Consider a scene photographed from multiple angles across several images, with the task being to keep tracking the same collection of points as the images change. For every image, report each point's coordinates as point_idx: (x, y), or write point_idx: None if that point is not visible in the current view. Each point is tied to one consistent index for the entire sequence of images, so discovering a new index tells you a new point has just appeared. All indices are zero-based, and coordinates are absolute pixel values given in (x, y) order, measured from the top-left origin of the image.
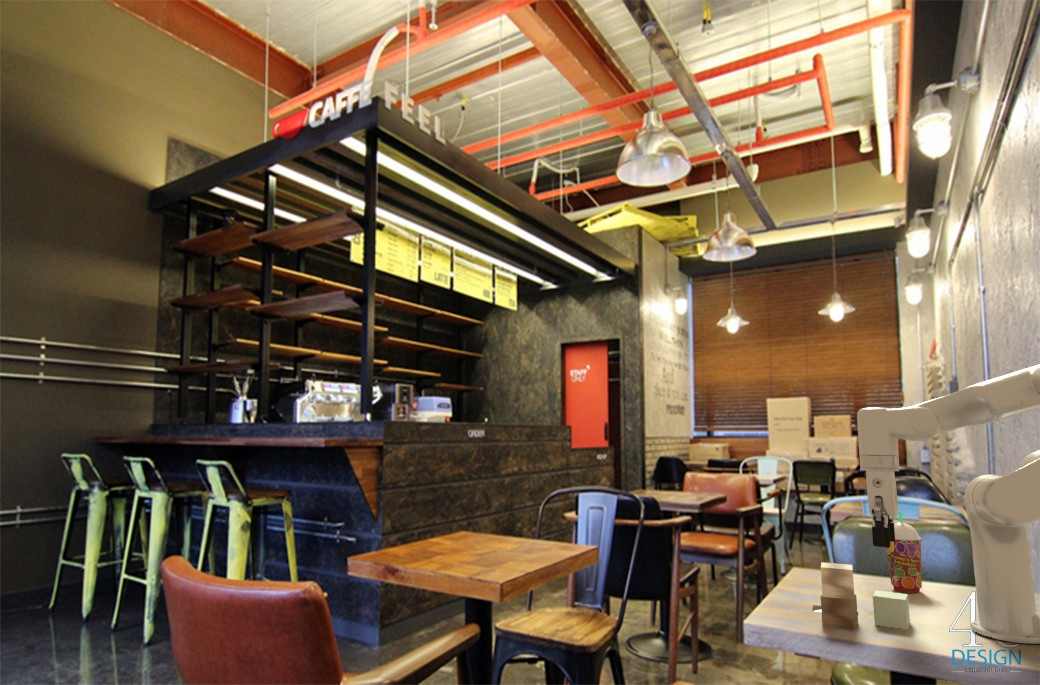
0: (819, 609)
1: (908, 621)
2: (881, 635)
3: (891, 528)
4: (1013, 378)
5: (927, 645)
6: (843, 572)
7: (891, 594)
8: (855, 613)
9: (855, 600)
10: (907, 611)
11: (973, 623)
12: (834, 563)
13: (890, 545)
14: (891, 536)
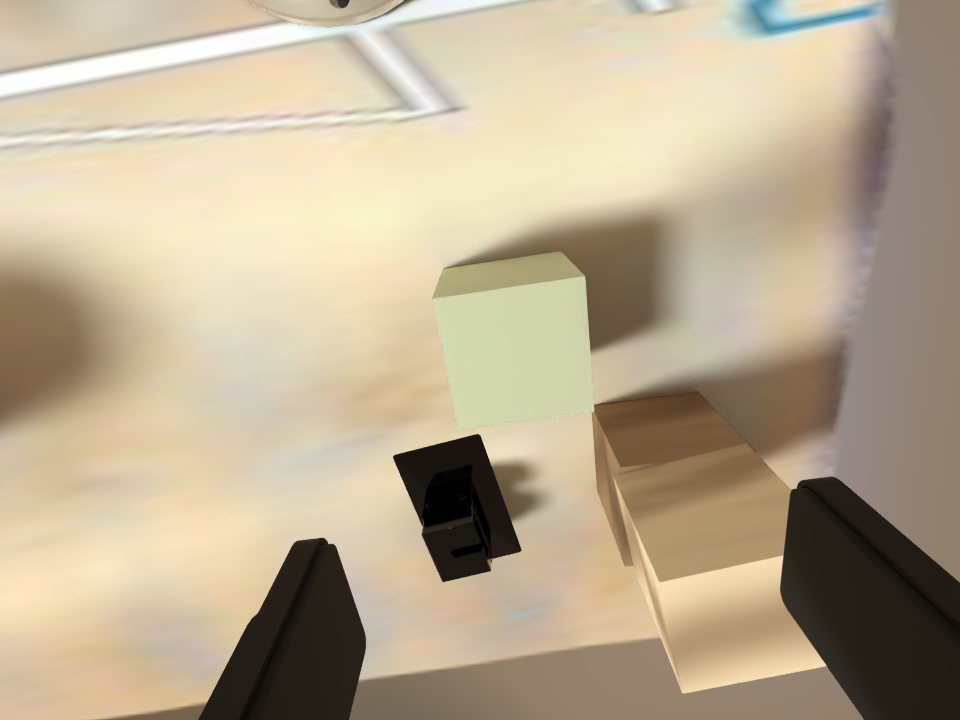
0: (498, 541)
1: (506, 263)
2: (707, 306)
3: (283, 688)
4: None
5: (754, 135)
6: None
7: (499, 357)
8: (654, 423)
9: (646, 451)
10: (515, 271)
11: (333, 6)
12: (676, 649)
13: (820, 484)
14: (322, 596)
